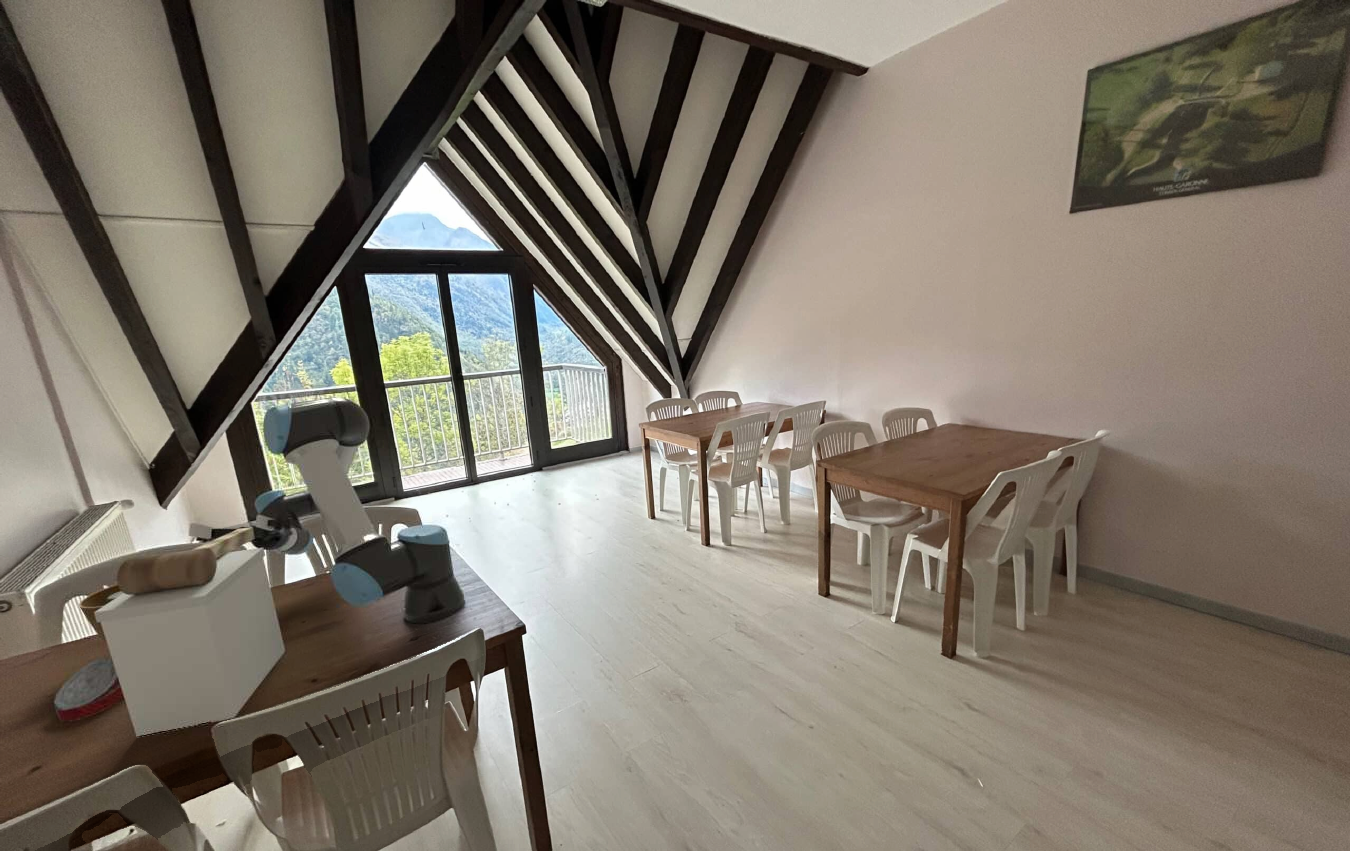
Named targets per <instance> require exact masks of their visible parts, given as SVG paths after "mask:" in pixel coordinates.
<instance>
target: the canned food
mask: <svg viewBox="0 0 1350 851" xmlns="http://www.w3.org/2000/svg"><path fill="white" fill-rule="evenodd" d="M120 699H121V700H123V699H124V695H123V692H122V688H121V685H120V682H119V679H118V676H117V673H116V669H115V666H114V663H113V660H112V657H111V656H110V657H109V656H107V657H100V658H98V659H95V660H94V661H92V662H90V663H87V664H86V665H84V666H83V667H81V668H80V669H79V670H78V671H76V672H74V674H72V675H71V676H70V677H69V679H68V680H66V681H65V682H64V683H63V684H62V686H61V687H60V688H59V690H58V692H57V693H56V694H55V699H54V701H53V703H54V709H55V711H56V715H57V716H58V719H59V721H61V720H62V722H65V721H67V722H71V721H70V720H75V721H77V720H76V719H78V718H83V717H86V716H89V715H92V714H94V713H96V712H99V711H101V710H103V709H105V708H107V707H109V706H111V705H113V704H114V703H116V702H117V703H119V702H120V701H121V700H120ZM119 700H120V701H119ZM118 701H119V702H118ZM117 703H116V704H117ZM114 705H115V704H114ZM114 705H113V706H114ZM111 707H112V706H111ZM109 708H110V707H109ZM107 709H108V708H107ZM105 710H106V709H105ZM103 711H104V710H103ZM101 712H102V711H101ZM99 713H100V712H99ZM94 715H95V714H94ZM92 716H93V715H92ZM89 717H90V716H89ZM86 718H87V717H86ZM83 719H84V718H83Z"/></svg>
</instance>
